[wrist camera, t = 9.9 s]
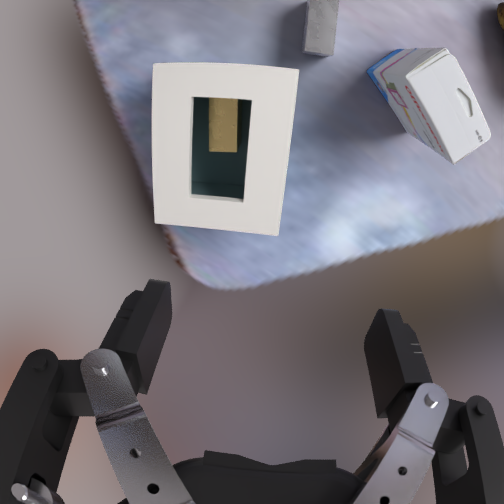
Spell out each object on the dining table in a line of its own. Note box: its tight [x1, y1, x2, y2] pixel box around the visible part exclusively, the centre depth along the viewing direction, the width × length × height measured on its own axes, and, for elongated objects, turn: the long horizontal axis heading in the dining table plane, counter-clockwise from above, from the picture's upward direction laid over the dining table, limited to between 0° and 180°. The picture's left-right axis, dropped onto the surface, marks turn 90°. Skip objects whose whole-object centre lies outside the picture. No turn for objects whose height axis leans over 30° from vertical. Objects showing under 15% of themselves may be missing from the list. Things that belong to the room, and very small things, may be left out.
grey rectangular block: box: [302, 0, 339, 57], centre depth 25 cm, size 3×6×4 cm, turn 175°
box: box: [152, 62, 299, 236], centre depth 29 cm, size 14×11×10 cm
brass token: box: [209, 97, 242, 152], centre depth 29 cm, size 3×6×4 cm, turn 178°
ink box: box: [367, 48, 491, 165], centre depth 24 cm, size 9×5×12 cm, turn 41°
